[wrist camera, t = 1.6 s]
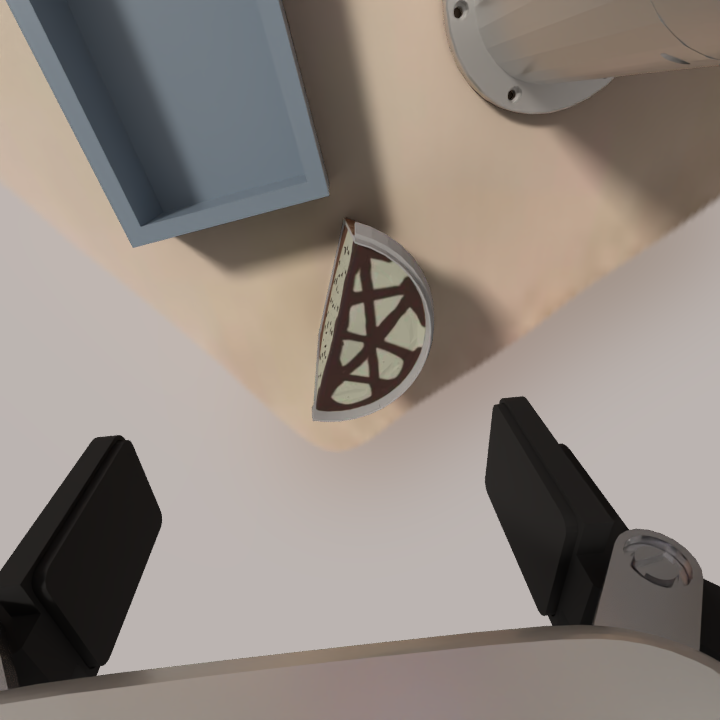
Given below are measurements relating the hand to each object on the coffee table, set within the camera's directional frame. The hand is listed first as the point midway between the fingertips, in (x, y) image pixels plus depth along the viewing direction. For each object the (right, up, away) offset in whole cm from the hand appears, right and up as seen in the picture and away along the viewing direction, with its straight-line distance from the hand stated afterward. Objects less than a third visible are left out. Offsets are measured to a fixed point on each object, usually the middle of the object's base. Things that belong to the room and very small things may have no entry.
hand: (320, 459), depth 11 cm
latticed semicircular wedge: (+2, +8, +22) cm, 24 cm away
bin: (-9, +21, +14) cm, 26 cm away
